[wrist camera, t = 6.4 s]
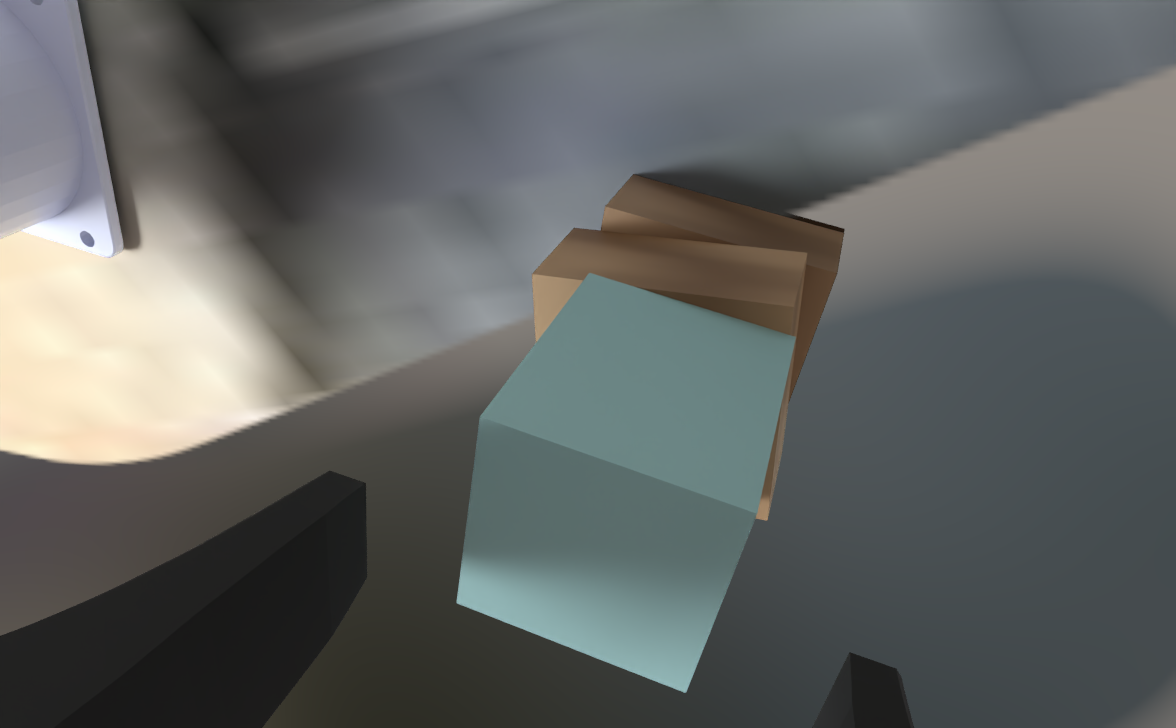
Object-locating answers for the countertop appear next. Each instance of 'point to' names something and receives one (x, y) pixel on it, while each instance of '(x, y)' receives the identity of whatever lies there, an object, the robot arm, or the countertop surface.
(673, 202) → the tower base
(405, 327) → the countertop surface
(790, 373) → the tower top
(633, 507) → the teal block
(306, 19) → the countertop surface
